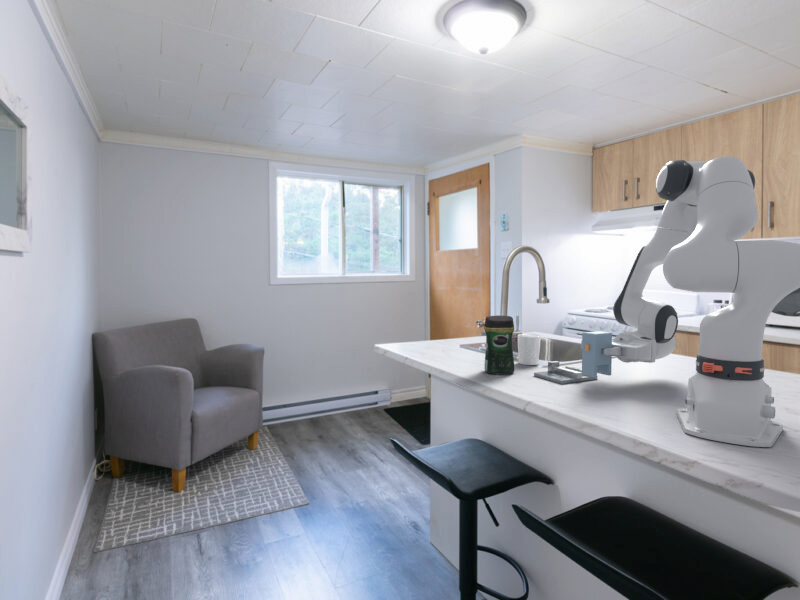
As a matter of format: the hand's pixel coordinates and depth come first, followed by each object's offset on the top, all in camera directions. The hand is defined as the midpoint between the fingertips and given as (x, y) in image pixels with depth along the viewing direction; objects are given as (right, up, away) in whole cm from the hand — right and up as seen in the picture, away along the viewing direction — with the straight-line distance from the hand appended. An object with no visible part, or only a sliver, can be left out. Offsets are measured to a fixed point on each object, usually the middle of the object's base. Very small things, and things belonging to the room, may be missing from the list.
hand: (594, 350), depth 131 cm
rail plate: (-4, -10, +12) cm, 16 cm away
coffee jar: (-22, -10, +21) cm, 32 cm away
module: (+1, -7, +1) cm, 7 cm away
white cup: (-9, -9, +34) cm, 37 cm away
